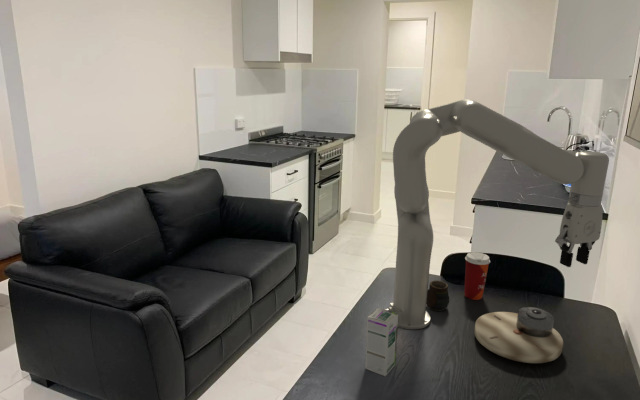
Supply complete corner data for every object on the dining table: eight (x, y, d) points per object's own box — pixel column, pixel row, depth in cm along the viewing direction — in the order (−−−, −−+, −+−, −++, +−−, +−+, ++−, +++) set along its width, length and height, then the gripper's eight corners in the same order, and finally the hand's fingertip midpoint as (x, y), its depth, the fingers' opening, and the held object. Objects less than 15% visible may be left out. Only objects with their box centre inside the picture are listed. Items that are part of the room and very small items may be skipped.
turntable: (514, 370, 116) (515, 363, 115) (458, 325, 136) (458, 318, 135) (581, 353, 124) (582, 346, 123) (519, 312, 143) (520, 306, 143)
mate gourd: (440, 300, 153) (443, 271, 150) (453, 312, 146) (457, 282, 143) (420, 303, 151) (423, 274, 148) (433, 315, 144) (436, 285, 141)
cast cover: (533, 340, 125) (536, 322, 124) (509, 323, 133) (511, 306, 132) (559, 333, 129) (562, 316, 127) (534, 317, 137) (536, 301, 135)
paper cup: (487, 302, 152) (492, 261, 148) (462, 299, 154) (466, 259, 150) (484, 291, 160) (489, 252, 156) (460, 289, 161) (464, 250, 157)
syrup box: (386, 377, 115) (389, 323, 111) (364, 368, 118) (366, 316, 114) (395, 365, 120) (399, 313, 116) (374, 357, 123) (377, 306, 119)
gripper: (572, 206, 118) (560, 273, 123) (621, 200, 124) (608, 265, 129) (548, 198, 125) (538, 262, 130) (596, 193, 131) (584, 254, 136)
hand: (573, 263), depth 130 cm, fingers open, 5 cm apart
